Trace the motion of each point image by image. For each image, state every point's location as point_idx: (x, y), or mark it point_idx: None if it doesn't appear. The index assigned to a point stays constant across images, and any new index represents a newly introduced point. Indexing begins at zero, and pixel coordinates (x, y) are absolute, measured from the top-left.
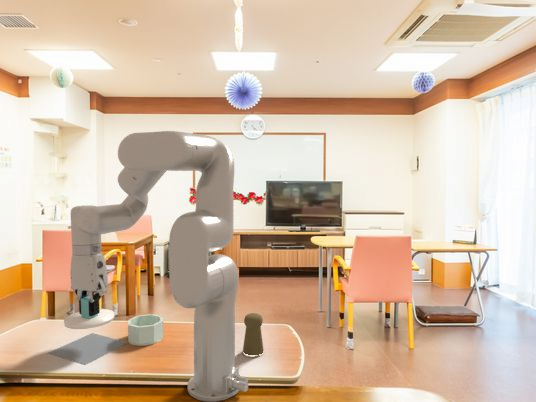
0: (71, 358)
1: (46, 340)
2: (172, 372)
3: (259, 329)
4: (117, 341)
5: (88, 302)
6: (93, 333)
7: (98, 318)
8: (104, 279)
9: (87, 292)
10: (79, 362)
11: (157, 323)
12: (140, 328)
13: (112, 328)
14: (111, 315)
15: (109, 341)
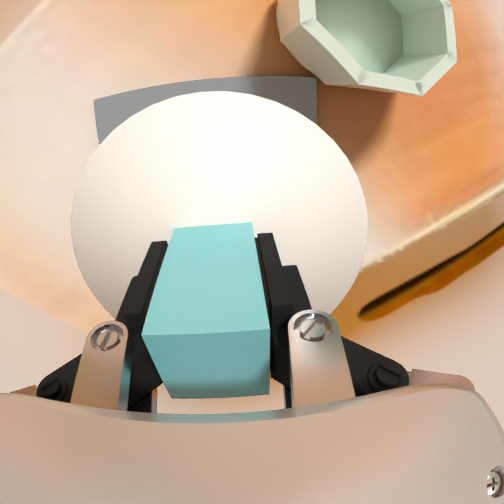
0: None
1: (34, 227)
2: (495, 184)
3: None
4: (266, 90)
5: (271, 377)
6: (101, 98)
7: (299, 251)
8: (488, 500)
9: (125, 377)
10: None
11: (453, 35)
12: (422, 90)
13: (116, 14)
14: (339, 175)
15: None
